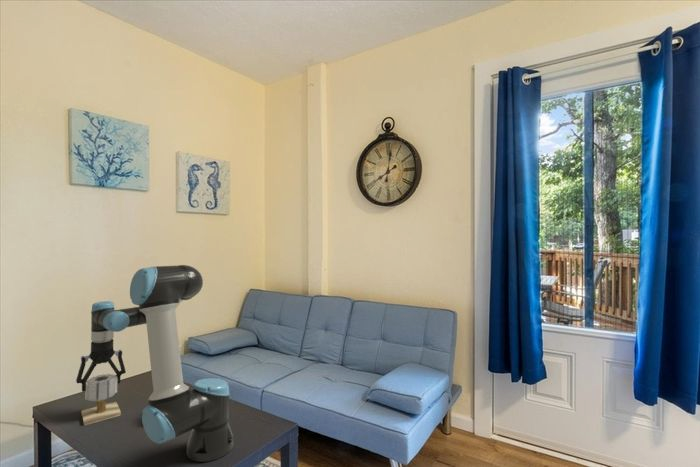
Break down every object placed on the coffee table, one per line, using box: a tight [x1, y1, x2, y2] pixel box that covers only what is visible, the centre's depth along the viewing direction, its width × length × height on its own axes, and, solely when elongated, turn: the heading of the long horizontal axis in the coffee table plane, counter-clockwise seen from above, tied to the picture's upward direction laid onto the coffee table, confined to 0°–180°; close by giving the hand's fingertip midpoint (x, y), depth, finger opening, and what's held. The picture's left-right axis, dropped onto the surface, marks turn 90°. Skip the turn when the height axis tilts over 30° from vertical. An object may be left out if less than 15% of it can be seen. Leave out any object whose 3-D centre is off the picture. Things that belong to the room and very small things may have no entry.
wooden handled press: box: [80, 399, 122, 427], centre depth 143 cm, size 12×12×10 cm
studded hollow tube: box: [87, 373, 116, 402], centre depth 143 cm, size 9×9×7 cm
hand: (101, 394), depth 143 cm, fingers closed on studded hollow tube, 9 cm apart
